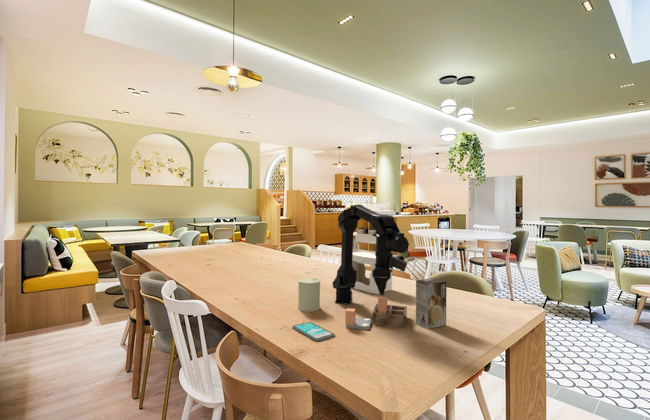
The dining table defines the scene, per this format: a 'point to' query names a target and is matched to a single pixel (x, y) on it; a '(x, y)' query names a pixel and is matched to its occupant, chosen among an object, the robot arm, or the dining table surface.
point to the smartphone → (313, 331)
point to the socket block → (391, 316)
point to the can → (309, 294)
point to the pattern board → (356, 320)
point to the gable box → (358, 264)
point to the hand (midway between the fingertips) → (383, 291)
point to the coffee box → (430, 303)
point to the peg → (382, 304)
